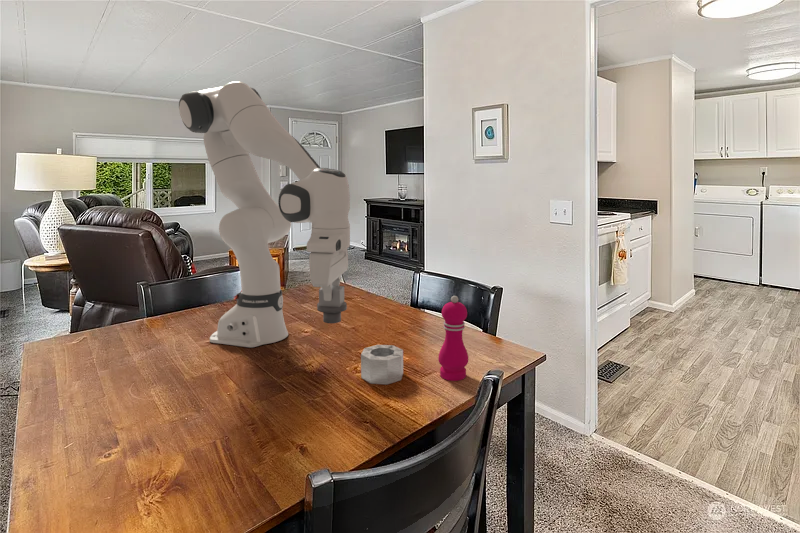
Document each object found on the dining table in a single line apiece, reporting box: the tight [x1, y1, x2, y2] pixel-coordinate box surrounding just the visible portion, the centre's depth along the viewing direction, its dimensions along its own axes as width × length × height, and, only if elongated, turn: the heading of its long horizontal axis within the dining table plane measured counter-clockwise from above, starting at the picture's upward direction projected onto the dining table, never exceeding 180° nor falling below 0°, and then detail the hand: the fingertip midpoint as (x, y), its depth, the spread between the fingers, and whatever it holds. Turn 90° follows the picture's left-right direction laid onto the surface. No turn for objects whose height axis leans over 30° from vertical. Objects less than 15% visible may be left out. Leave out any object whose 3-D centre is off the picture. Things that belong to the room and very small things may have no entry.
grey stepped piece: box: [316, 285, 348, 324], centre depth 111 cm, size 7×7×8 cm
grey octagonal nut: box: [360, 344, 404, 385], centre depth 112 cm, size 10×10×6 cm
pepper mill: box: [437, 295, 469, 382], centre depth 111 cm, size 7×7×20 cm
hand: (331, 296), depth 111 cm, fingers closed on grey stepped piece, 4 cm apart
